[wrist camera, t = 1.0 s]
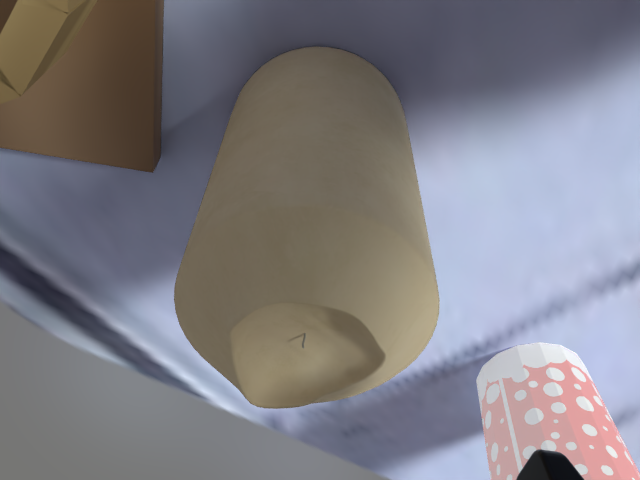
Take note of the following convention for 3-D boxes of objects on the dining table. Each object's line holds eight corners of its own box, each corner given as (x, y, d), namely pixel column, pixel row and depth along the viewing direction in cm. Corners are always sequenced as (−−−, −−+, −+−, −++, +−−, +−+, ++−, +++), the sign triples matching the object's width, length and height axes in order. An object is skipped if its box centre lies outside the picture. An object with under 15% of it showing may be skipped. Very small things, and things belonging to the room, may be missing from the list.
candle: (321, 227, 22) (309, 483, 14) (198, 129, 20) (99, 366, 12) (441, 127, 19) (511, 368, 11) (315, 3, 17) (291, 192, 9)
